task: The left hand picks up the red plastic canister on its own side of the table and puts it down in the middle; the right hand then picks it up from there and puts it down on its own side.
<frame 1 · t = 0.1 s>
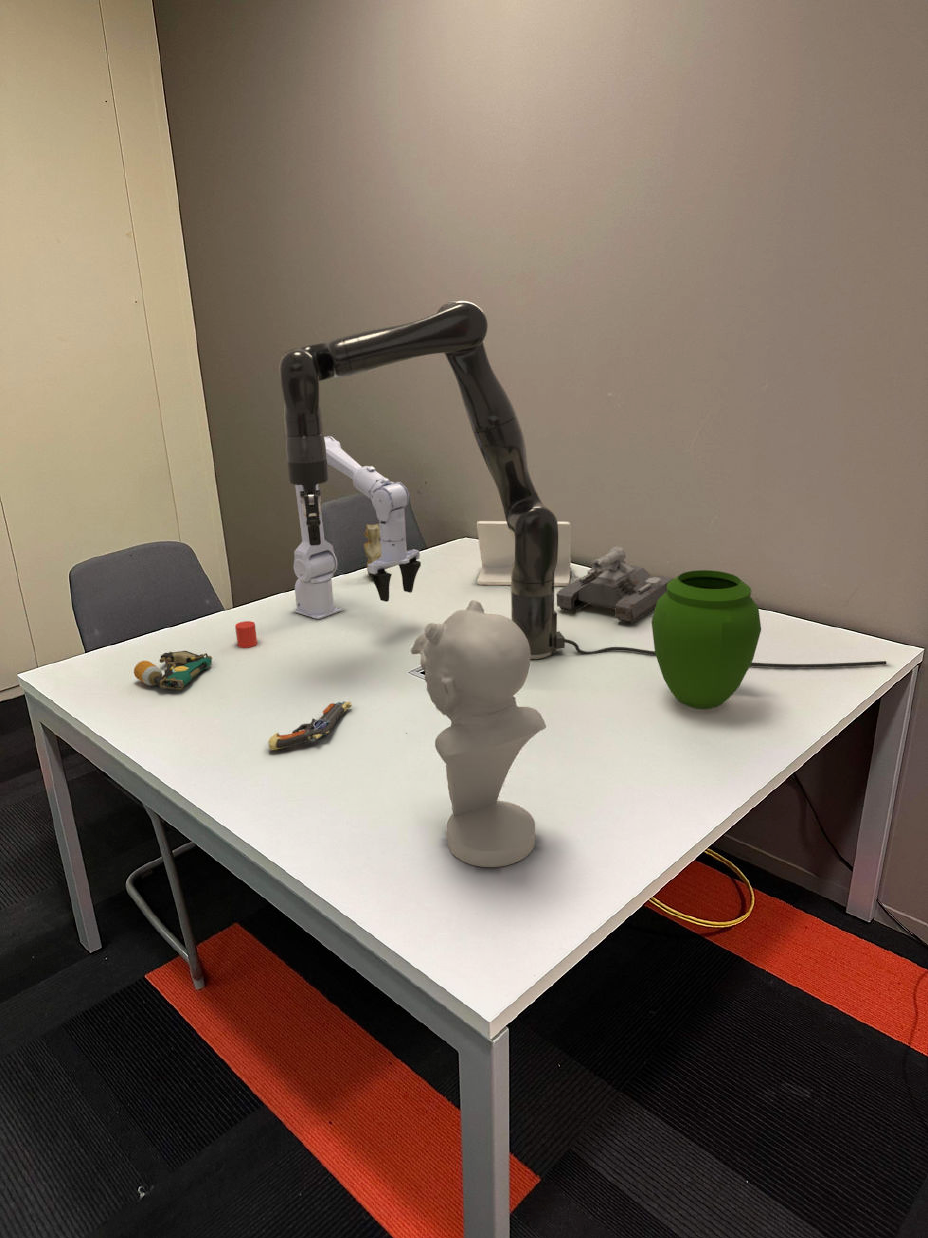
left hand: (396, 596, 195), 10 cm above the table, tool pointing down, fingers open, 7 cm apart
right hand: (314, 539, 170), 29 cm above the table, tool pointing down, fingers open, 8 cm apart
sculpture: (376, 577, 241), on the table
canister: (247, 644, 197), on the table
vase: (699, 701, 163), on the table
spray gun: (177, 676, 181), on the table
toy gun: (311, 730, 156), on the table
bust sculpture: (470, 832, 125), on the table
toy: (615, 605, 214), on the table
tablet stand: (525, 575, 239), on the table
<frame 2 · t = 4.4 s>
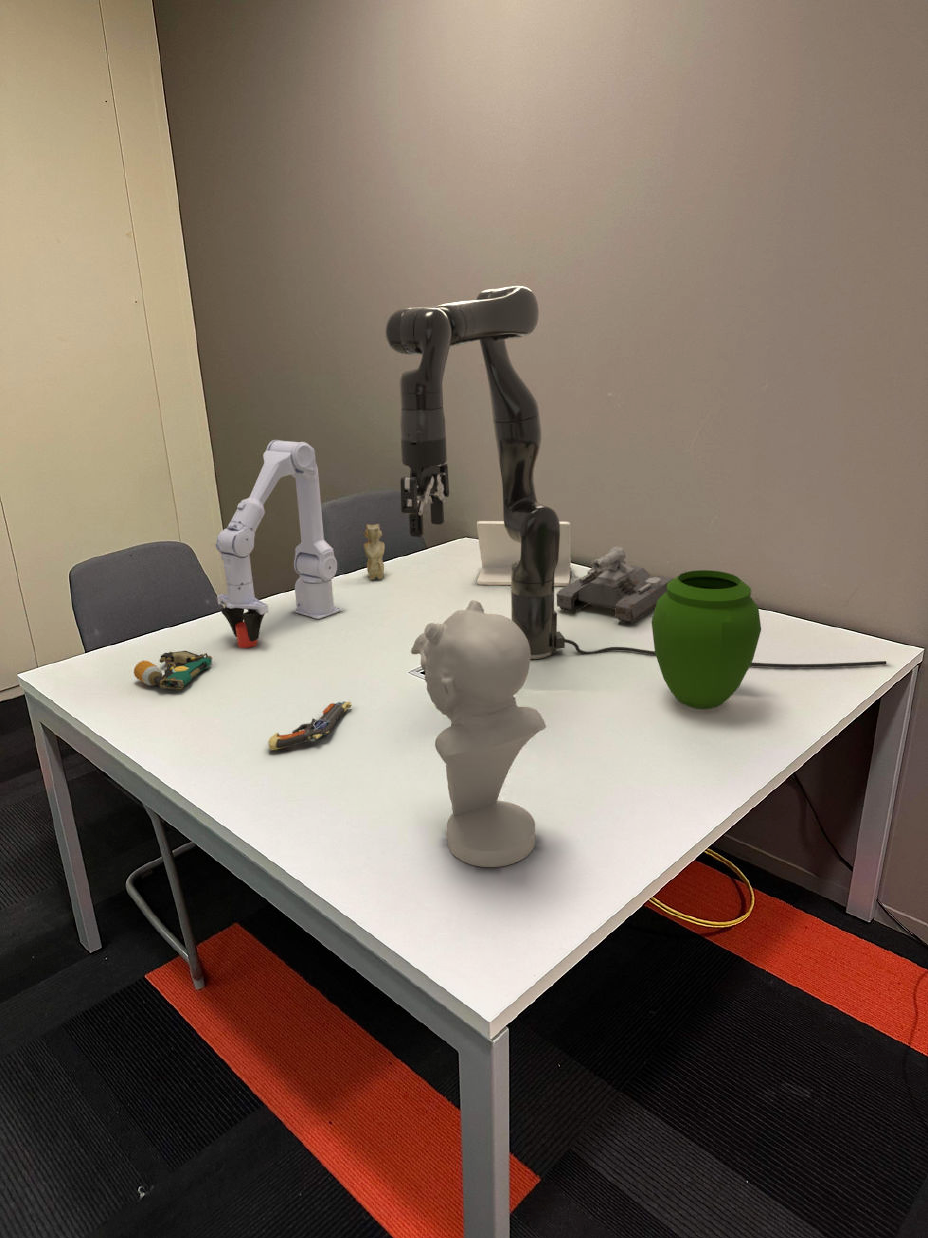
left hand: (246, 637, 196), 2 cm above the table, tool pointing down, fingers closed on canister, 4 cm apart
right hand: (427, 529, 148), 36 cm above the table, tool pointing down, fingers open, 8 cm apart
canister: (247, 644, 197), on the table, touching left hand
everything else where it was.
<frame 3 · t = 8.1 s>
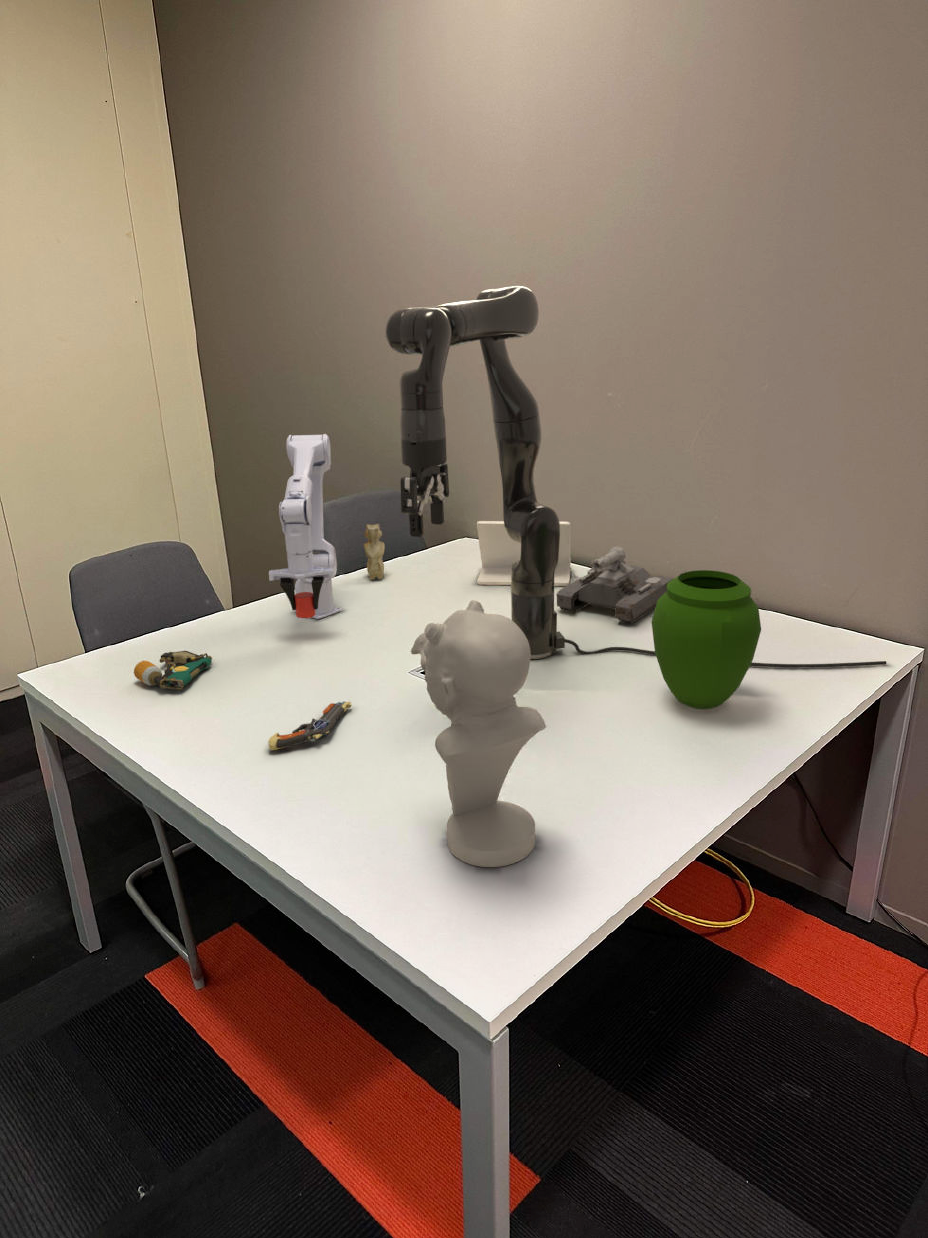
left hand: (305, 608, 196), 7 cm above the table, tool pointing down, fingers closed on canister, 4 cm apart
right hand: (427, 529, 148), 36 cm above the table, tool pointing down, fingers open, 8 cm apart
canister: (306, 614, 197), point 6 cm above the table, touching left hand
everything else where it was.
when the left hand's fingers open (2 cm above the table, at t = 12.2 s): canister stays where it is, on the table.
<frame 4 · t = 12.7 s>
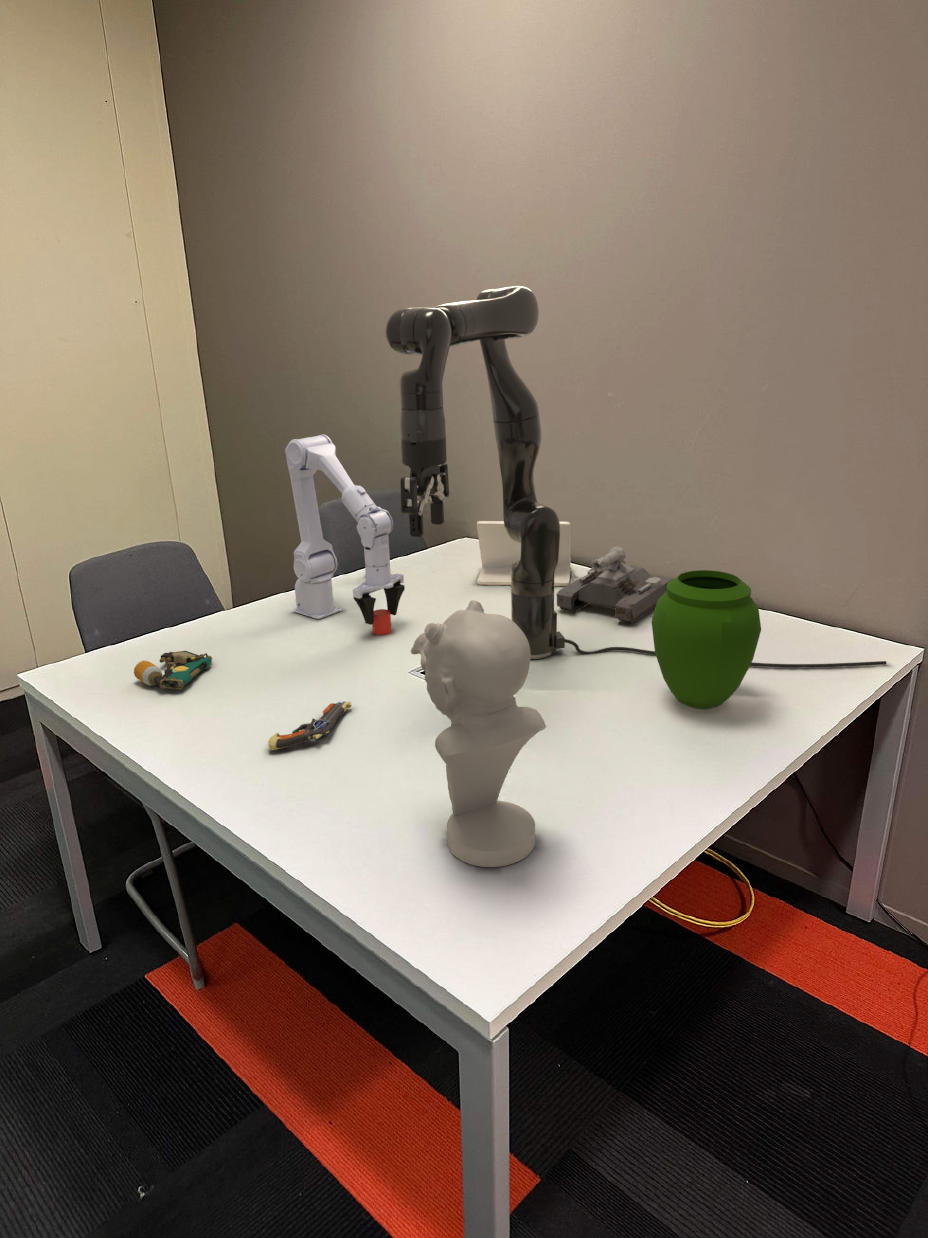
left hand: (381, 618, 201), 3 cm above the table, tool pointing down, fingers open, 7 cm apart
right hand: (427, 529, 148), 36 cm above the table, tool pointing down, fingers open, 8 cm apart
canister: (382, 631, 202), on the table
everything else where it was.
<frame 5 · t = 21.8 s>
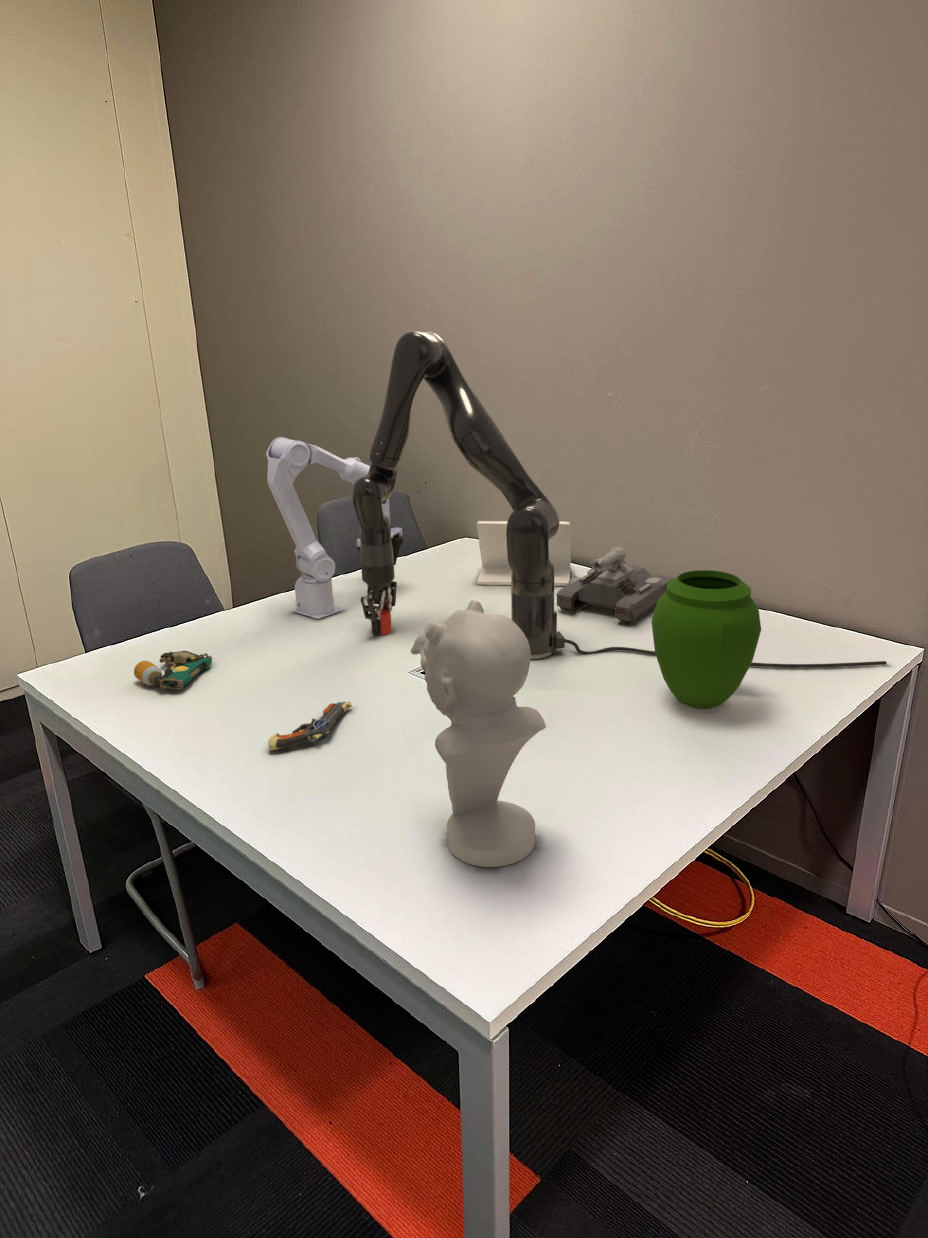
left hand: (381, 567, 223), 8 cm above the table, tool pointing down, fingers open, 7 cm apart
right hand: (381, 629, 202), 1 cm above the table, tool pointing down, fingers closed on canister, 4 cm apart
canister: (382, 631, 202), on the table, touching right hand
everything else where it was.
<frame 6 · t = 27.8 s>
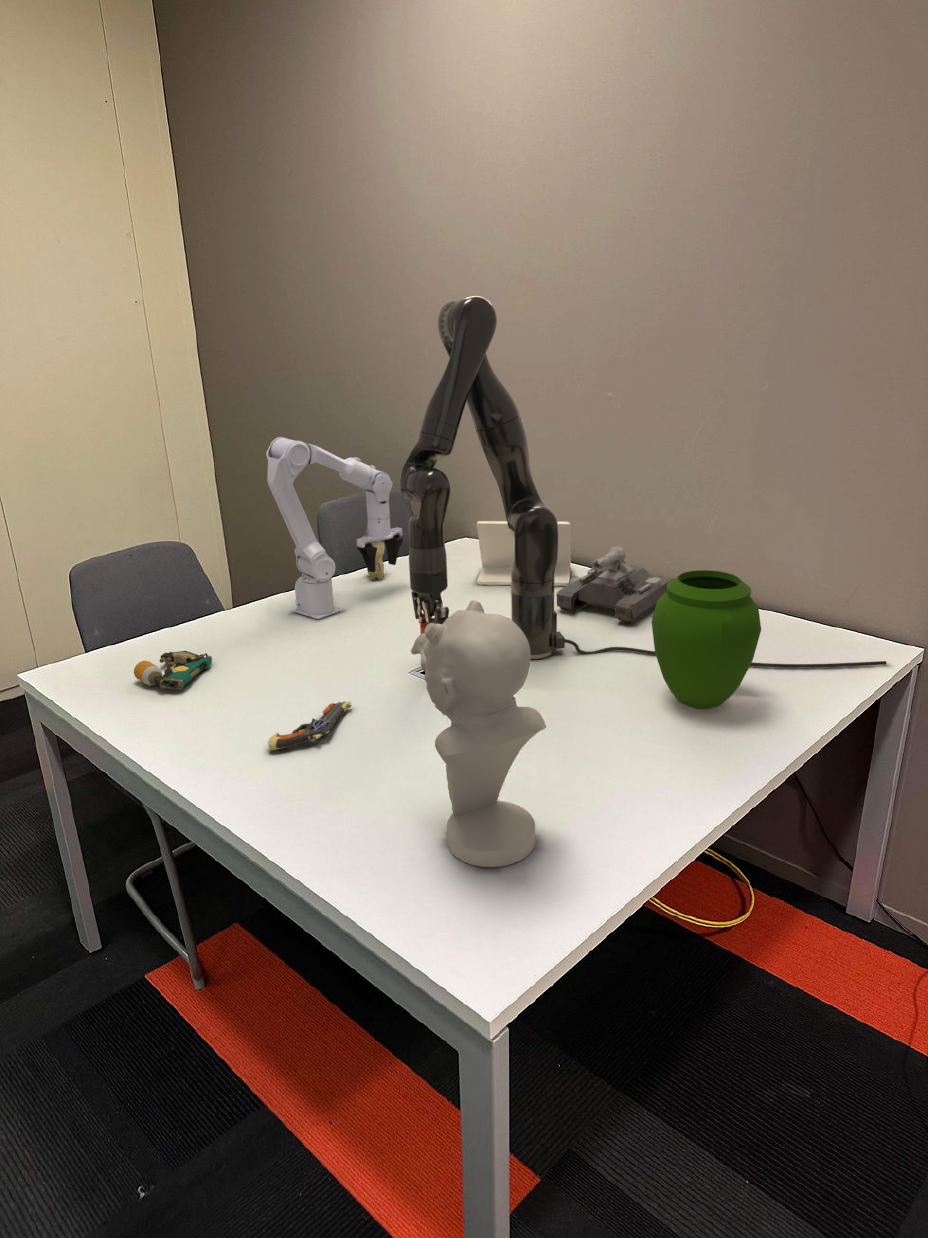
left hand: (381, 567, 223), 8 cm above the table, tool pointing down, fingers open, 7 cm apart
right hand: (431, 645, 176), 6 cm above the table, tool pointing down, fingers closed on canister, 4 cm apart
canister: (431, 647, 177), point 6 cm above the table, touching right hand
everything else where it was.
when the right hand's fingers open (1 cm above the table, at t = 33.8 s): canister stays where it is, on the table.
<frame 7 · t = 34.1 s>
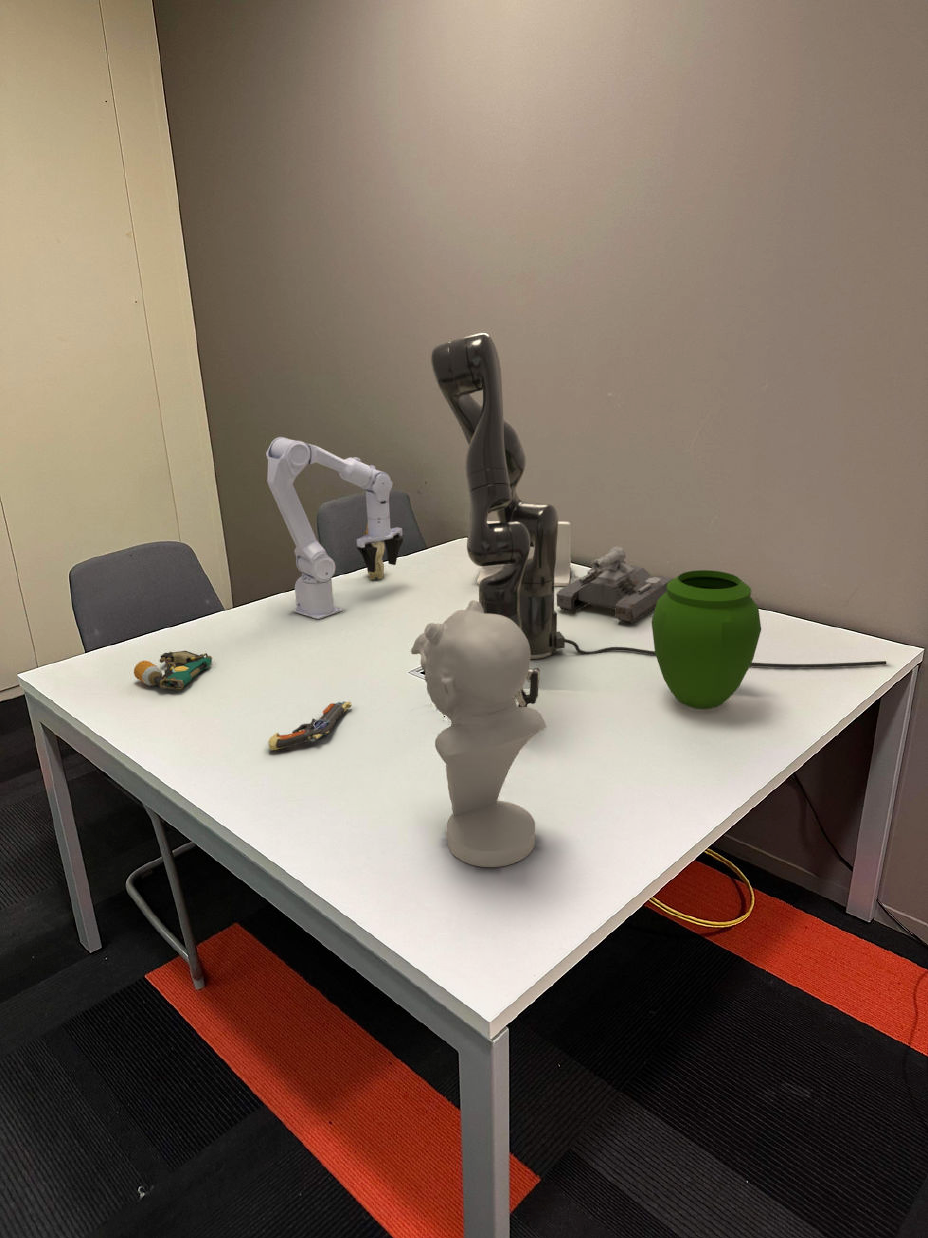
left hand: (381, 567, 223), 8 cm above the table, tool pointing down, fingers open, 7 cm apart
right hand: (501, 720, 154), 2 cm above the table, tool pointing down, fingers open, 6 cm apart
canister: (501, 729, 155), on the table
everything else where it was.
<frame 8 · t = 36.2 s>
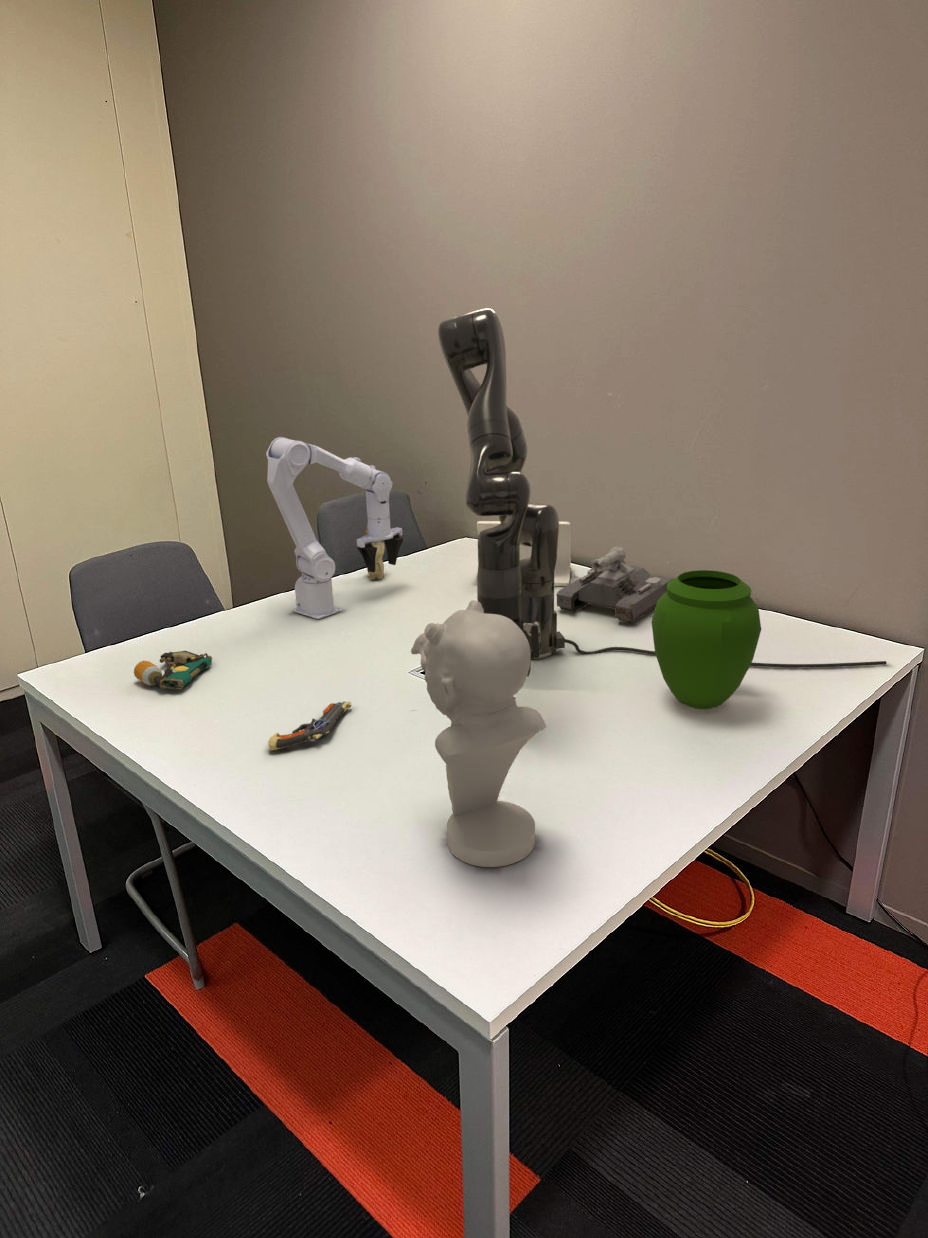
left hand: (381, 567, 223), 8 cm above the table, tool pointing down, fingers open, 7 cm apart
right hand: (500, 676, 151), 11 cm above the table, tool pointing down, fingers open, 8 cm apart
nothing on the table moved.
at the end: canister inside the target area (0.1 cm from its centre), on the table; canister tilted 0°; the two hands never held the canister at the same time; the left hand is holding nothing; the right hand is holding nothing; canister at rest at the end (0.0 cm/s) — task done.
